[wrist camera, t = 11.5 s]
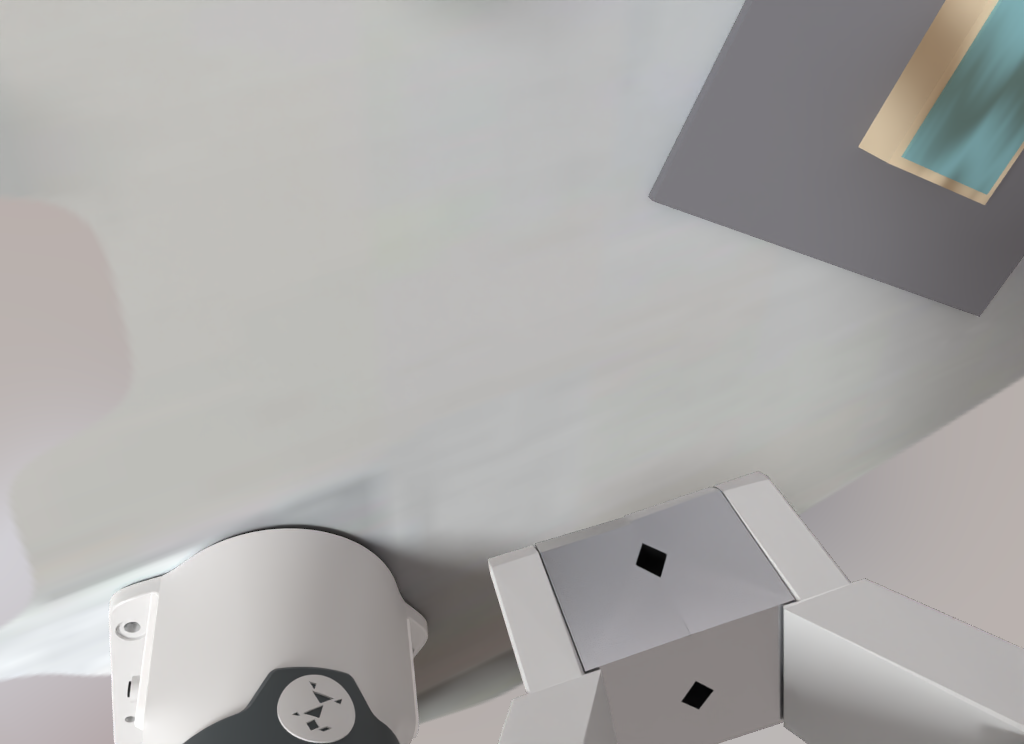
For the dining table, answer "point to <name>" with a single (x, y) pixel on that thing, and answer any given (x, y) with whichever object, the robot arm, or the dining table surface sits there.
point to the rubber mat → (835, 153)
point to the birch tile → (959, 100)
